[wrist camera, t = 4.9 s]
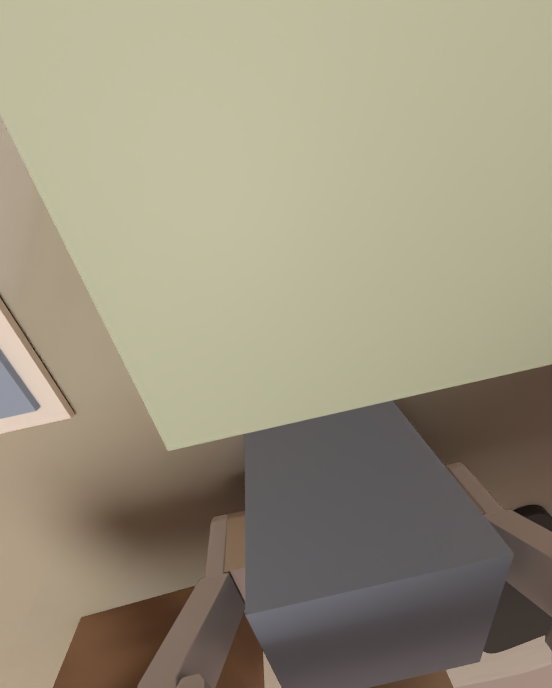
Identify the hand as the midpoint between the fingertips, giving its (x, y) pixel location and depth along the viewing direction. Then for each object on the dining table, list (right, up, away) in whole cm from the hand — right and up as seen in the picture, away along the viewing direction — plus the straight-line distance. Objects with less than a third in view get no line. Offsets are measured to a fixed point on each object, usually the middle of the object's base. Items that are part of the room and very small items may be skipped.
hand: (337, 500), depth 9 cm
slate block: (0, +1, +1) cm, 2 cm away
